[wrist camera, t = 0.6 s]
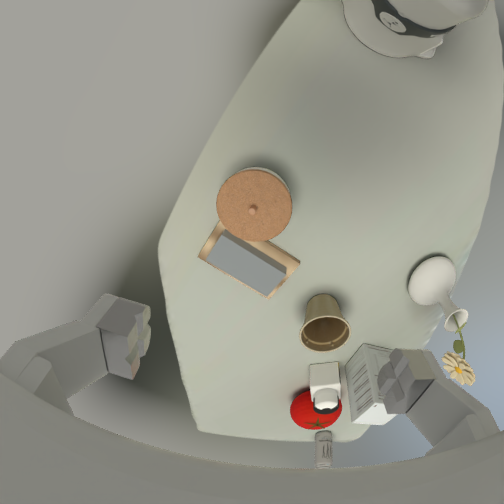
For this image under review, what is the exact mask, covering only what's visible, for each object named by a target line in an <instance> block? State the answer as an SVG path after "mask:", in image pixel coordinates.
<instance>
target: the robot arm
mask: <svg viewBox="0 0 504 504" xmlns="http://www.w3.org/2000/svg"><path fill="white" fill-rule="evenodd" d="M341 1H342V2H343V6H344V15H345V19H346V21H347V24H348V26H349V27H350V29H351V31H352V32H353V33H354V35H355V36H356V37H357V38H358V39H359V40H360V41H361V42H362V43H363V44H365V45H366V46H367V47H369V48H370V49H372V50H374V51H376V52H378V53H380V54H383V55H386V56H389V57H395V58H404V57H410V56H417V57H420V58H424V59H430V58H432V57H433V55H434V53H435V50H436V47H437V46H439V45H441V44H442V43H443V37H444V34H446V33H448V32H449V31H451V30H452V29H453V28H454V27H455V26H456V25H457V24H459V23H462V22H465V21H467V20H470V19H473V18H476V17H478V16H480V15H481V14H482V13H483V12H484V11H485V9H486V7H487V4H488V0H341ZM149 319H150V307H149V306H147V305H144V304H140V303H137V302H133V301H130V300H127V299H124V298H119V297H117V296H114V295H110V294H104V295H103V296H102V297H101V298H100V299H99V300H98V301H97V303H96V304H95V305H94V306H93V307H92V308H91V310H90V311H89V312H88V313H87V314H86V315H85V316H84V318H83V319H82V320H81V321H77V320H75V321H73V322H70V323H67V324H64V325H61V326H58V327H56V328H53V329H50V330H47V331H44V332H41V333H39V334H35V335H33V336H30V337H27V338H24V339H21V340H18V341H15V343H14V344H13V345H12V346H11V347H10V348H9V350H7V352H6V353H5V354H4V355H3V356H2V357H1V359H0V504H504V430H503V431H501V432H500V430H499V428H498V426H497V424H496V422H495V420H494V418H493V416H492V414H491V412H490V410H489V409H488V408H487V407H485V406H484V405H483V404H482V403H480V402H479V401H477V400H476V399H475V398H474V397H473V396H471V395H470V394H469V393H467V392H466V391H465V390H464V389H462V388H461V387H460V386H458V385H457V384H456V383H454V382H453V381H452V380H451V379H447V378H446V376H445V374H444V373H443V371H442V369H441V367H440V366H439V364H438V362H437V360H436V359H435V357H434V355H433V354H432V352H431V351H429V350H428V349H417V350H415V349H398V348H396V349H394V350H393V351H392V352H391V354H390V355H389V362H388V363H386V364H385V365H383V366H382V368H381V370H380V371H379V374H378V379H377V383H378V388H379V391H380V392H381V393H383V394H384V398H383V403H384V406H385V409H386V412H387V414H405V413H406V416H407V417H408V418H409V419H410V420H411V421H412V423H413V424H414V425H415V426H416V427H417V428H418V429H419V431H420V432H421V433H422V434H423V435H424V436H425V438H426V439H427V440H428V441H429V442H430V443H431V445H432V446H433V448H432V449H431V450H429V451H428V452H427V453H426V455H425V456H424V457H419V458H415V459H410V460H404V461H399V462H392V463H386V464H379V465H371V466H362V467H349V468H332V469H289V468H271V467H258V466H248V465H240V464H233V463H226V462H220V461H214V460H209V459H203V458H198V457H194V456H189V455H185V454H180V453H176V452H172V451H169V450H165V449H161V448H158V447H154V446H151V445H148V444H144V443H141V442H138V441H135V440H132V439H129V438H126V437H124V436H121V435H118V434H115V433H113V432H110V431H108V430H105V429H103V428H100V427H98V426H95V425H93V424H90V423H88V422H86V421H84V420H82V419H80V418H77V417H75V416H74V414H73V411H72V409H71V407H70V406H69V403H68V401H67V398H69V397H71V396H72V395H74V394H75V393H77V392H79V391H80V390H82V389H84V388H85V387H87V386H88V385H90V384H92V383H93V382H95V381H97V380H98V379H100V378H101V377H103V376H104V375H106V374H108V372H110V373H113V374H116V375H119V376H122V377H125V378H128V379H133V378H134V376H135V374H136V372H137V370H138V367H139V366H140V361H139V358H140V357H142V356H144V355H145V353H146V351H147V349H148V345H149V341H150V335H151V328H150V326H149V325H148V323H147V322H148V320H149Z"/></svg>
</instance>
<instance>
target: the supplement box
mask: <svg viewBox="0 0 504 504" xmlns="http://www.w3.org/2000/svg"><path fill="white" fill-rule="evenodd" d="M392 351H393V350H390V349H386V348H381V347H377V346H372V345H368V344H362V346H361V347H360V348H359V350H358V351H357V352H356V353H355V355H354V356H353V357H352V358H351V359H350V361H349V362H348V363H347V364H346V365H345V371H346V378H347V386H348V394H349V403H350V412H351V422H352V423H359V424H375V425H384V424H385V423H387V422H388V421H389V420H391V419H392V418H393V417H394V416H395V415H397V414H387V412H386V409H385V406H384V403H383V398H384V394H383V393H381V392H380V391H379V388H378V383H377V379H378V374H379V371H380V370H381V368H382V366H383V365H385V364H386V363H388V362H389V355H390V354H391V352H392Z"/></svg>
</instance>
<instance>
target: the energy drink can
mask: <svg viewBox="0 0 504 504" xmlns="http://www.w3.org/2000/svg"><path fill="white" fill-rule="evenodd" d="M331 466H332V434H331V433H330V432H329V431H320V432H318V433H317V435H316V436H315V467H316V469H331V468H330V467H331Z"/></svg>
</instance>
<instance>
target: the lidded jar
mask: <svg viewBox="0 0 504 504" xmlns="http://www.w3.org/2000/svg"><path fill="white" fill-rule="evenodd" d="M216 204H217V213H218V216H219V219H220V221H221V222H222V224H223V225H224V227H225V228H226V229H227V230H228V231H229V232H230V233H231V234H233V235H234V236H236V237H238V238H240V239H243V240H246V241H251V242H261V241H266V240H269V239H272V238H274V237H275V236H277V235H278V234H280V233H281V232H282V231H283V230H284V229H285V227H286V226H287V224H288V222H289V220H290V218H291V214H292V200H291V196H290V192H289V189H288V187H287V185H286V183H285V182H284V180H283V179H282V178H281V177H280V176H279V175H278V174H276V173H275V172H273V171H271V170H269V169H266V168H262V167H250V168H246V169H243V170H241V171H239V172H237V173H235V174H234V175H232V176H231V177H230V178H229V179H228V180H226V181H225V183H224V184H223V185H222V187H221V189H220V190H219V193H218V196H217V202H216Z"/></svg>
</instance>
